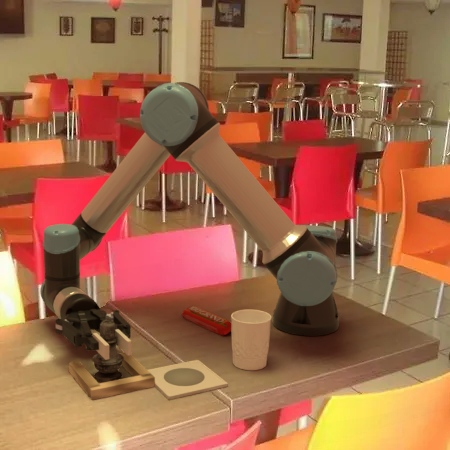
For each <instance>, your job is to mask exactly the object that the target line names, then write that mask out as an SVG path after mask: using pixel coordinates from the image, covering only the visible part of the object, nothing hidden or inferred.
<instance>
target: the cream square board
mask: <svg viewBox="0 0 450 450" xmlns="http://www.w3.org/2000/svg"><path fill="white" fill-rule="evenodd" d="M147 370H148V371H149V372H150V373H151V374H152V375H153V376H154V377H155V386H154V388H156V389H157V390H158V391H159V392H160V393H161V394H162V395H163V396H164V397H165V398H166V399H167V400H168V401H169V400H176V399H179V398H183V397H186V396H187V397H188V396H192V395H197V394H200V393H206V392H209V391H213V390H219V389H224V388H227V387H229V383H228V382H227V381H226V380H224V378H222V377H221V376H219V375H218V374H217V373H216V372H214V371H213V370H212V369H210V368H209V367H208V366H206V365H205V364H204V363H203V362H201V361H200V360H199V359H195V360H189V361H185V362H184V361H183V362H179V363H175V364H169V365H164V366H159V367H155V368H150V369H147Z"/></svg>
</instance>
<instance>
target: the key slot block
mask: <svg viewBox="0 0 450 450" xmlns="http://www.w3.org/2000/svg"><path fill="white" fill-rule="evenodd" d="M118 353H119V352H118ZM119 354H121V355H123V357H124V359H123V361H122V365H121V367H122V368H124V370H125V371H127V372H128V374H129V375H130V377H125V378H120V379H119V380H114V381H110V382H101V383H99V382H98V380H96V379H95V378H94V375H92V374H91V373H90V372H89V370H87V369H86V367H85V366H84V364H82V363H81V362H80V361H79V360H77V361H73V362H72V361H70V362H68V372H69V373H70V375H71V376H72V377H73V379H75V381H76V382H77V383H78V385H79V386H80V387H81V388H82V389H83V391H84V393H86V395H87V396H88V397H89V399H91V400H92V401H94V400H97V399H98V400H99V399H103V398H107V397H111V396H117V395H122V394H126V393H131V392H135V391H140V390H144V389H150V388H155V377H154V376H153V375H152V374H151V373H150V372H149V371H148V370H149V369H147V368H146V367H145V366H144V365H142V364H141V363H140V362H139V360H137V359H136V358H135V357H134V356H133V355H127V354H126V353H125V352H120V353H119Z"/></svg>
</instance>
